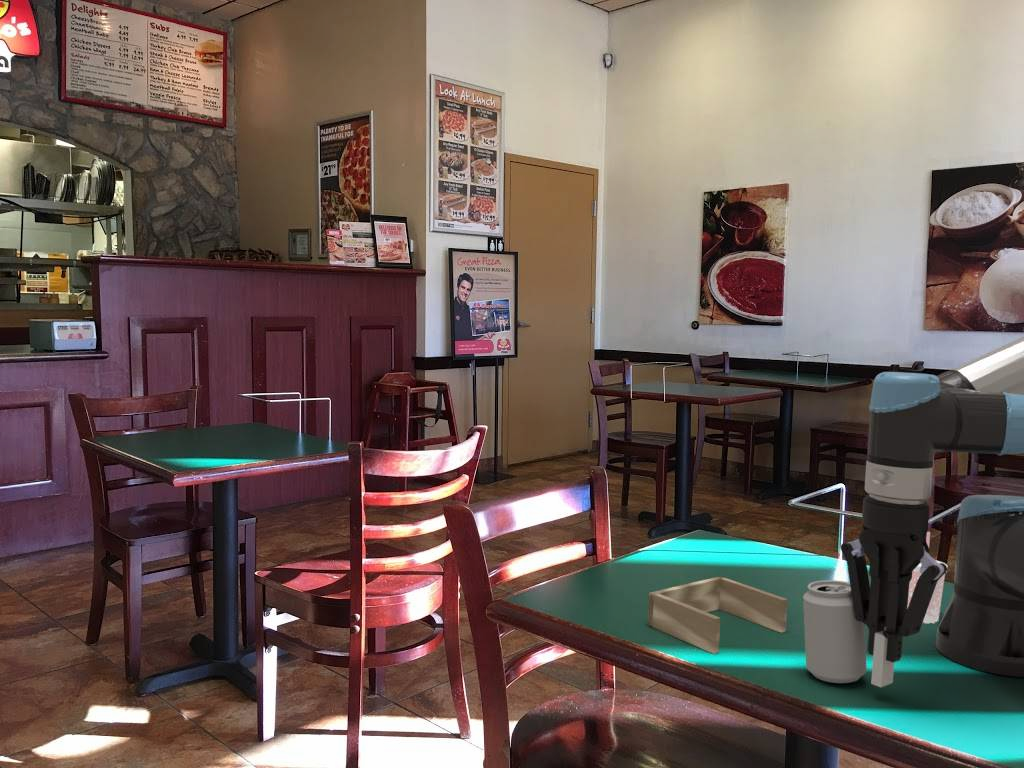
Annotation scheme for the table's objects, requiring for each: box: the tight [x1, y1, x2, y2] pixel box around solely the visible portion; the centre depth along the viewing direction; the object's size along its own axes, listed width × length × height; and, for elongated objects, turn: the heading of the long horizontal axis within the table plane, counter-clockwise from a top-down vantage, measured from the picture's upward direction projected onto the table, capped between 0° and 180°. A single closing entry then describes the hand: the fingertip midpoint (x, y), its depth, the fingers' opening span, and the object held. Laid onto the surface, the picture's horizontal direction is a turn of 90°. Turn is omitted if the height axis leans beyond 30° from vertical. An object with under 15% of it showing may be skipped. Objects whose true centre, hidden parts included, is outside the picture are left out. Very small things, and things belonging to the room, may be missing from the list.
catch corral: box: [647, 575, 788, 655], centre depth 132 cm, size 16×13×5 cm
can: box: [802, 579, 868, 684], centre depth 115 cm, size 8×8×12 cm
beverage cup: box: [907, 531, 949, 624], centre depth 139 cm, size 6×6×14 cm
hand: (881, 683), depth 110 cm, fingers closed
